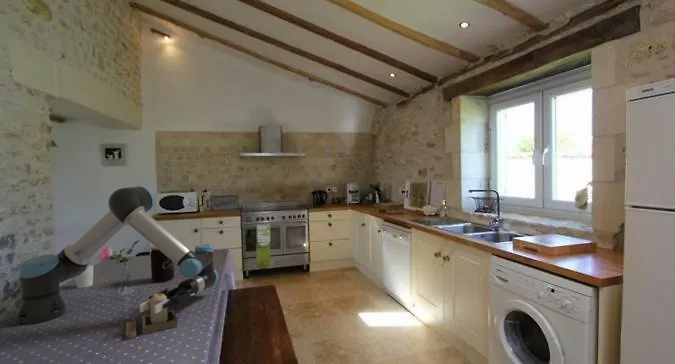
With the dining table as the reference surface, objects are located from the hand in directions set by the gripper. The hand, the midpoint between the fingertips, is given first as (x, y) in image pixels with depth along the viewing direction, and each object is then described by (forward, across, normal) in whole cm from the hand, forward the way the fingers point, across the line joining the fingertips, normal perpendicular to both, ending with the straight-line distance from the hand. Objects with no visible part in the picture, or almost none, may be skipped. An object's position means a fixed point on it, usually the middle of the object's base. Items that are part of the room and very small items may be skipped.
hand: (147, 309), depth 122 cm
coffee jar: (-52, +40, -8) cm, 66 cm away
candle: (-5, 0, -7) cm, 8 cm away
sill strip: (+1, +6, -8) cm, 10 cm away
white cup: (-36, +73, -8) cm, 81 cm away
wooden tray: (-5, 0, -8) cm, 10 cm away
